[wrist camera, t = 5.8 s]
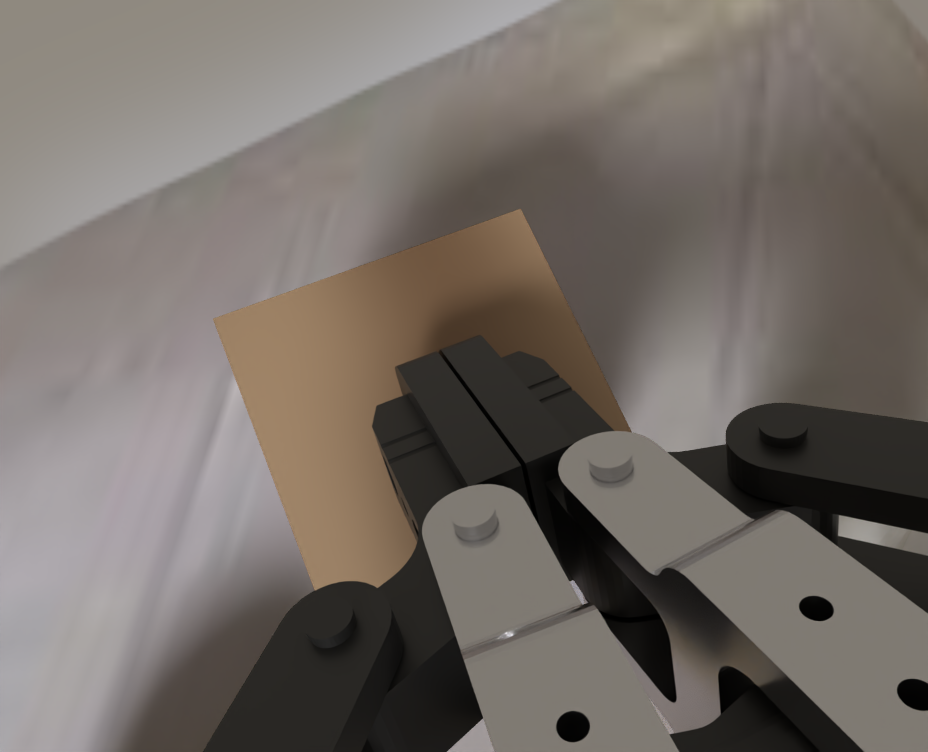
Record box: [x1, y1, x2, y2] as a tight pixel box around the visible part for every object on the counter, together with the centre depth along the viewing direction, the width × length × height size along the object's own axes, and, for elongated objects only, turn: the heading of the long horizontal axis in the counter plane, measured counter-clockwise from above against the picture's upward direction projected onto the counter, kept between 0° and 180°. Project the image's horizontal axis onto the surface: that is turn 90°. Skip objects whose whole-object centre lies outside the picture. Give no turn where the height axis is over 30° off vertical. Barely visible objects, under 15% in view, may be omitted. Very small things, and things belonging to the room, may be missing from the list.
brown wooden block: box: [213, 209, 631, 590], centre depth 18 cm, size 6×6×9 cm
